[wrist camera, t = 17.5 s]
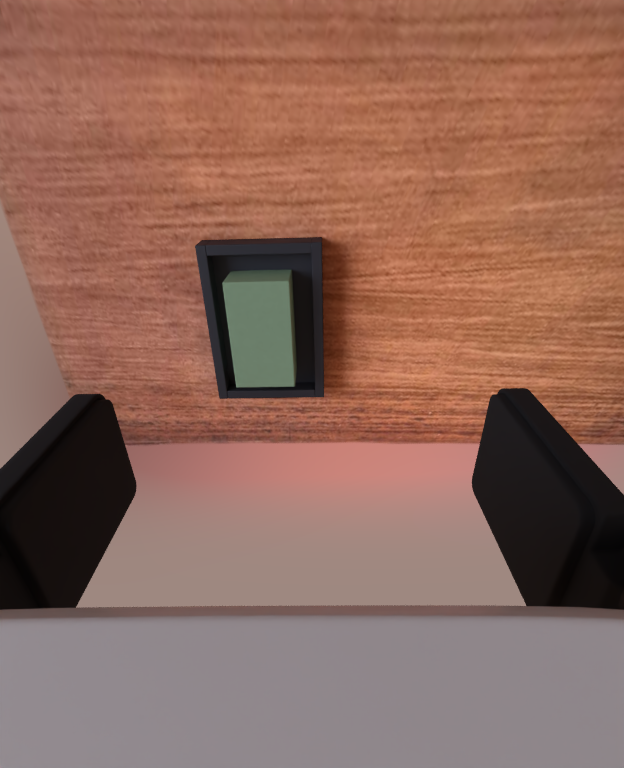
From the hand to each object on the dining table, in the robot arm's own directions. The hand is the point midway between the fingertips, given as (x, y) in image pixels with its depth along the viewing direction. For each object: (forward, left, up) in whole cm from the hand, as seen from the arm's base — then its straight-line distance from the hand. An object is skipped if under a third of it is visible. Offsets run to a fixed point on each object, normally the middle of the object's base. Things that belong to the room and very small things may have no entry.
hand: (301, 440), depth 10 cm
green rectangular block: (-4, -6, -25) cm, 26 cm away
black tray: (-4, -6, -26) cm, 27 cm away
